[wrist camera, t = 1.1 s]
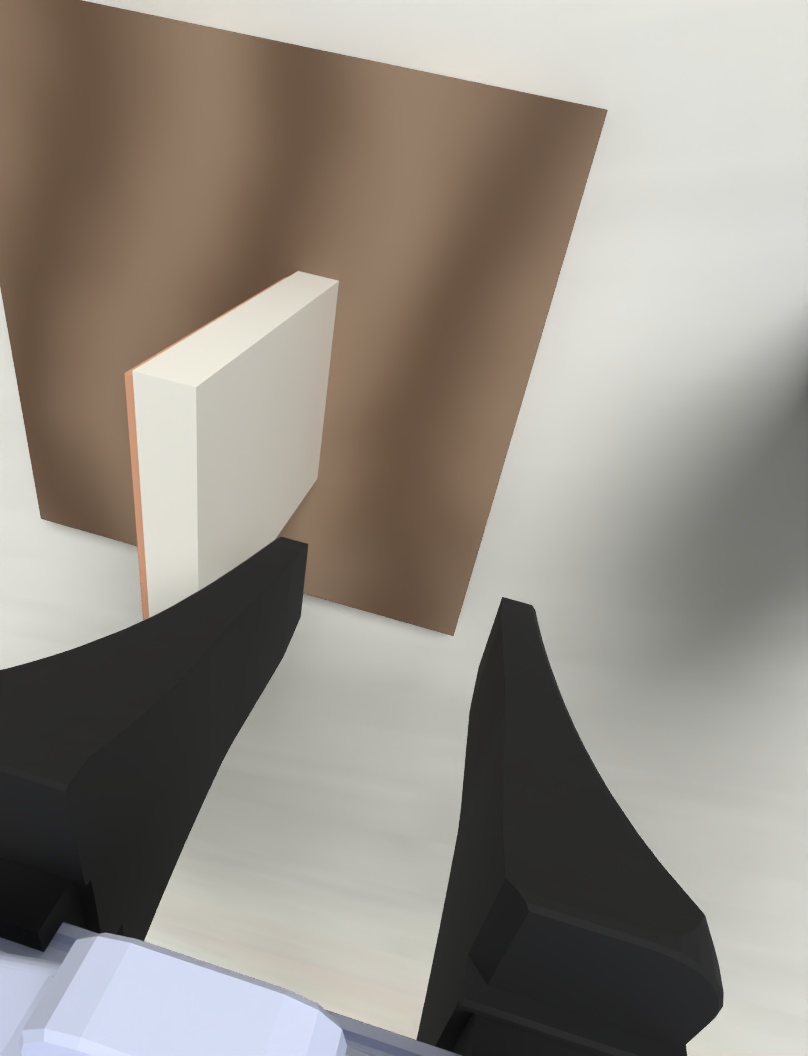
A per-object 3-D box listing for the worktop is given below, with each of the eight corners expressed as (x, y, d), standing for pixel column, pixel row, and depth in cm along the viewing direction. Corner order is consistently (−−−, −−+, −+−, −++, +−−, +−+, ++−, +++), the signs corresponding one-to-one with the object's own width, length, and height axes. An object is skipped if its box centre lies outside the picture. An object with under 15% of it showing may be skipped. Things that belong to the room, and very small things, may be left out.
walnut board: (606, 109, 17) (607, 109, 16) (457, 619, 27) (453, 636, 26) (-27, -23, 19) (-55, -28, 18) (56, 506, 29) (41, 518, 28)
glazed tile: (339, 280, 20) (196, 387, 12) (317, 478, 24) (199, 648, 16) (288, 268, 20) (117, 366, 13) (275, 467, 24) (138, 631, 17)
